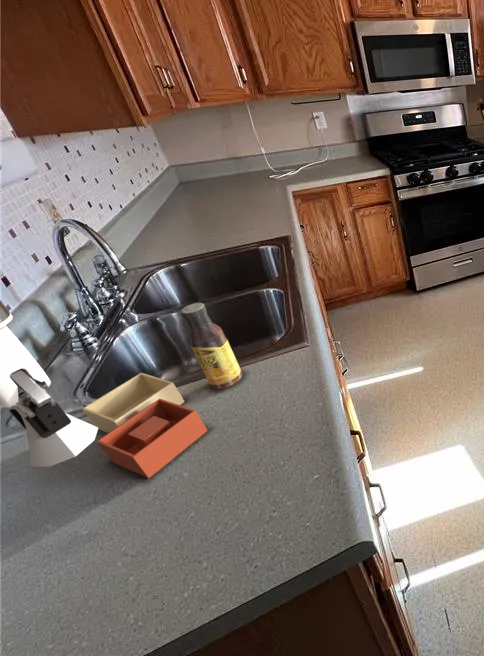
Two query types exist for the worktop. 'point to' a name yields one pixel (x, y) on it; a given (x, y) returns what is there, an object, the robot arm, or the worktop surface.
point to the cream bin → (130, 401)
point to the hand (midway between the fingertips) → (48, 425)
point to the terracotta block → (149, 431)
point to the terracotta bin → (163, 447)
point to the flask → (57, 441)
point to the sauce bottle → (211, 348)
